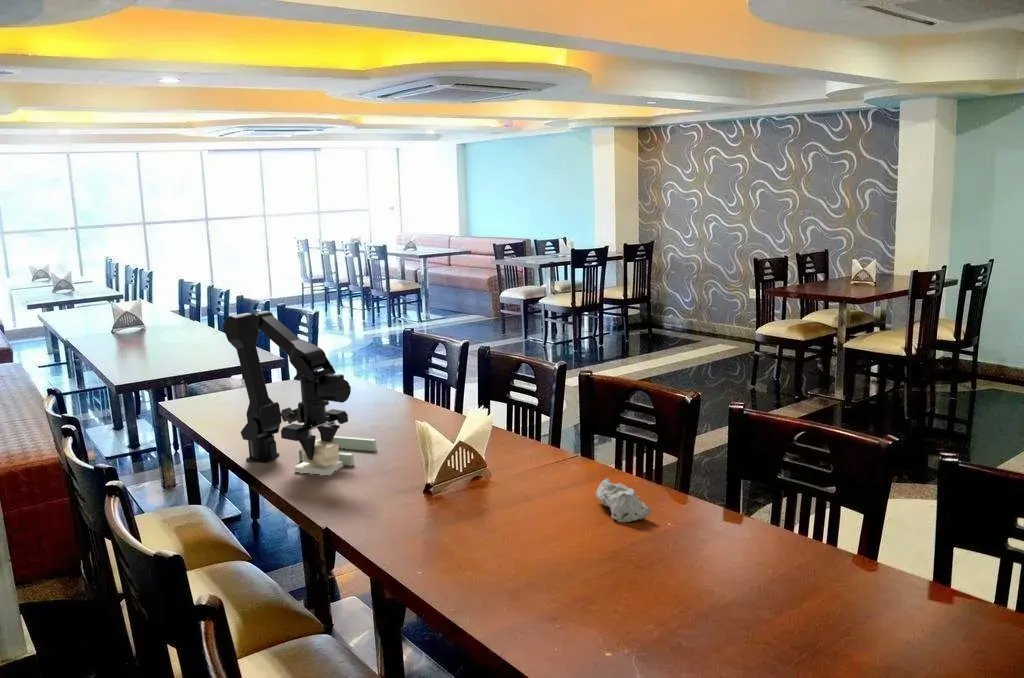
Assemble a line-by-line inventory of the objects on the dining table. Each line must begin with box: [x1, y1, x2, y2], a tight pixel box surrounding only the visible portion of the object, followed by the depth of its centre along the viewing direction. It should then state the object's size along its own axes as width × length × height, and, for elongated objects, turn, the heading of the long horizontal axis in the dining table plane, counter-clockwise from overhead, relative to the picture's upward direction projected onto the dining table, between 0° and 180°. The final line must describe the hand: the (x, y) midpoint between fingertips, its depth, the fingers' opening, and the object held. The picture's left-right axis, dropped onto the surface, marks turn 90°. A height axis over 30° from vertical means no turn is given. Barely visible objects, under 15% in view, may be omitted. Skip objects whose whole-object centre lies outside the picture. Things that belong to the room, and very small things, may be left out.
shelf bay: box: [298, 435, 378, 467], centre depth 220 cm, size 16×13×3 cm
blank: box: [300, 438, 340, 466], centre depth 209 cm, size 8×5×4 cm, turn 60°
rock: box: [595, 477, 652, 523], centre depth 177 cm, size 16×7×7 cm, turn 27°
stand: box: [293, 461, 344, 476], centre depth 210 cm, size 10×7×2 cm
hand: (317, 456), depth 209 cm, fingers closed on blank, 5 cm apart
